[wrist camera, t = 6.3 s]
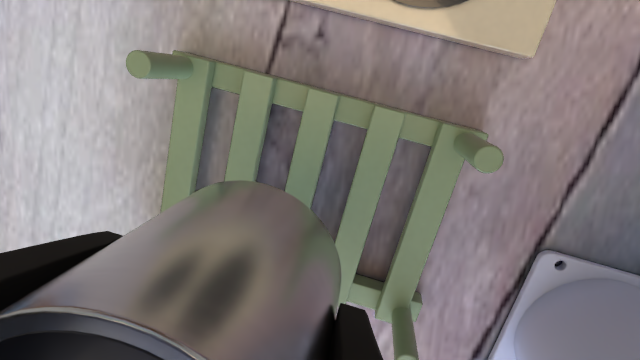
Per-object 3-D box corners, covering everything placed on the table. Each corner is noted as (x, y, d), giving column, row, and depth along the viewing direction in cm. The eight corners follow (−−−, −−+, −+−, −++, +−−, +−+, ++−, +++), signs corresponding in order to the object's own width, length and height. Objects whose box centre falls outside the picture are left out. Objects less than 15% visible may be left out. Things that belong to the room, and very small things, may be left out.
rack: (483, 131, 17) (525, 151, 12) (413, 311, 20) (425, 383, 15) (182, 51, 18) (114, 40, 13) (158, 233, 21) (95, 278, 16)
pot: (365, 211, 10) (350, 396, 4) (315, 371, 11) (255, 667, 6) (173, 156, 10) (-87, 254, 4) (151, 318, 12) (-62, 545, 6)
